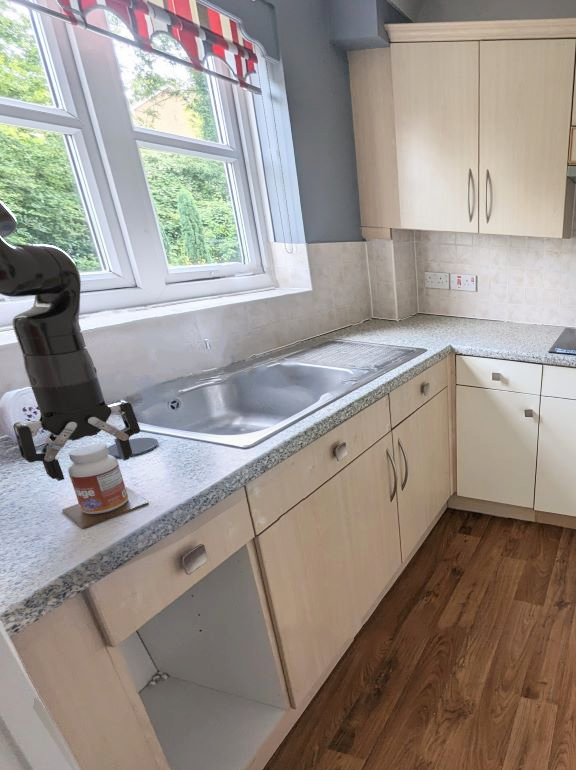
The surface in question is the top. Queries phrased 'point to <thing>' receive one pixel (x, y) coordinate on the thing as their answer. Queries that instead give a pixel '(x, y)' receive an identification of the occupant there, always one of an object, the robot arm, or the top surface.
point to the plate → (136, 446)
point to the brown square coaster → (92, 519)
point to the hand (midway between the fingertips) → (93, 468)
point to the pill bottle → (96, 479)
